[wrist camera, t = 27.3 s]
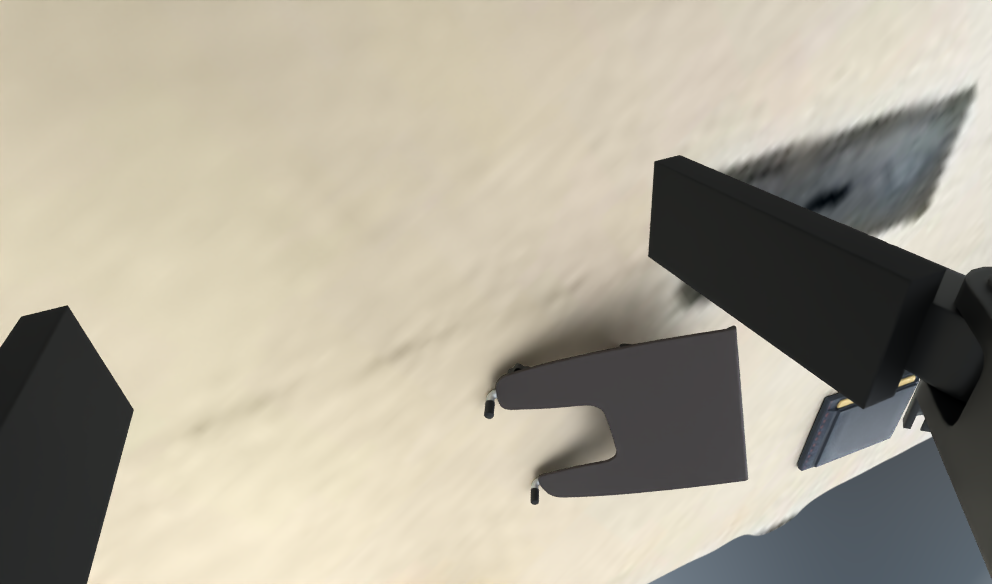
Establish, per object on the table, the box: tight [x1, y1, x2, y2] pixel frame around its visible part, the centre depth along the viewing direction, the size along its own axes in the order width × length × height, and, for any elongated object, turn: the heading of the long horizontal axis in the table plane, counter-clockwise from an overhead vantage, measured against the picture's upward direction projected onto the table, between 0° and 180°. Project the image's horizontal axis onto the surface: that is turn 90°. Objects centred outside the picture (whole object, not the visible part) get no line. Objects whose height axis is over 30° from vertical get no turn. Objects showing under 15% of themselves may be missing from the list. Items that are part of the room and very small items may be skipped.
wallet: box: [798, 370, 919, 471], centre depth 83 cm, size 20×2×15 cm
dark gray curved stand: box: [484, 326, 748, 505], centre depth 56 cm, size 23×23×9 cm
